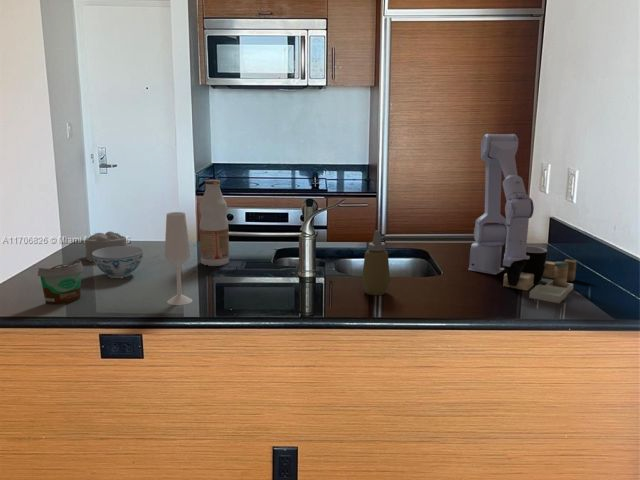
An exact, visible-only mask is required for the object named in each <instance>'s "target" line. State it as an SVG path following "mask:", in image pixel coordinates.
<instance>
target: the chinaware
mask: <svg viewBox="0 0 640 480" xmlns="http://www.w3.org/2000/svg"><path fill="white" fill-rule="evenodd" d="M92 256H93V259H94V261H93V262H94V264H95V265H96V266H97V268H98V269H99V270H100V271H101V272H103V273H105V274H106V275H107V276H108V278H109V277H110V278H109V279H113V278H120V279H122V278H121V277H126V278H128V277H127V276H129V277H131V275H132V273H133V272H134V271H135V270H136V269H137V268H138V267H139V265H140V264H141V262H142V260H143V256H144V249H143V248H141V247H138V246H130V245H127V246H116V247H107V248H102V249H98V250H96V251H94V252H92Z"/></svg>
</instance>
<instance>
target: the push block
mask: <svg viewBox="0 0 640 480" xmlns="http://www.w3.org/2000/svg"><path fill="white" fill-rule="evenodd" d="M533 282H534V274H530V273H524V272H521V274H520V277H519V281H518V284H517V286H511V285H509V284H508V278H507V273H504V274H503V281H502V283H503V285H502V286H503V287H504V286H505V287H506V288H510V287H511V288H510V289H515V288H516V289H517V290H521V291H528V290H530V289H531V288H532V287H533V286H534V284H533ZM516 289H515V290H516Z"/></svg>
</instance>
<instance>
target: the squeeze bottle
mask: <svg viewBox="0 0 640 480" xmlns="http://www.w3.org/2000/svg"><path fill="white" fill-rule="evenodd" d="M389 263H390V262H389V252H388V251H386V244H385V242H382V238H381V233H380V230H375V231H374V235H373V238H372V241H371V242H369V243H368V249H367V250H366V251H365V252H364V260H363V267H362V274H361V283H362V286H363V290H364V292H365V294H367V295H369V296H370V295H371V296H383V295H385V294H386V293H387V290H388V289H389V285H390V281H391V280H390V279H391V277H390V265H389Z"/></svg>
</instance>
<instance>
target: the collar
mask: <svg viewBox="0 0 640 480" xmlns="http://www.w3.org/2000/svg"><path fill="white" fill-rule="evenodd" d="M553 280H554V279H553ZM553 280H550V281H549V282H548V283H546V284H545V286H551V287H556V288H562V289H568V290H567V295H568V294H569V293H570V292H571V291H573V289H574V283H570V282H567V284H566V288H563V287H558V286H553Z"/></svg>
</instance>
